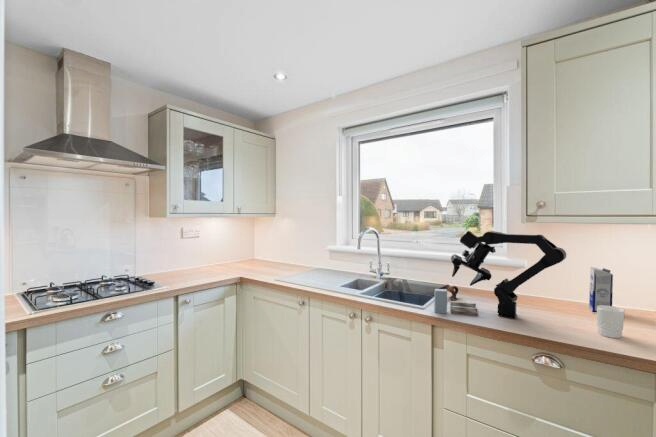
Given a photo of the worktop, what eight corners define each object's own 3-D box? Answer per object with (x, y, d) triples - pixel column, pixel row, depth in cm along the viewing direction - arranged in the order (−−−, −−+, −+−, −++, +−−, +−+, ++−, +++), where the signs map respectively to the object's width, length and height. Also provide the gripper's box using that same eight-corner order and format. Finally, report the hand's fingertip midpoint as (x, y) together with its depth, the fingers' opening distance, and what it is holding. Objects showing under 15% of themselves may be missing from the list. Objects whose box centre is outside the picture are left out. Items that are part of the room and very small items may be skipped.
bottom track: (475, 309, 151) (475, 303, 151) (477, 315, 143) (477, 308, 143) (450, 307, 155) (450, 301, 155) (450, 312, 147) (450, 306, 147)
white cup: (620, 340, 116) (621, 313, 116) (592, 333, 123) (593, 307, 122) (626, 335, 121) (627, 309, 120) (599, 329, 127) (600, 304, 127)
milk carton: (589, 308, 153) (590, 266, 153) (607, 310, 150) (608, 267, 149) (592, 312, 147) (594, 268, 146) (611, 315, 144) (613, 270, 143)
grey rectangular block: (445, 310, 150) (445, 289, 149) (446, 313, 146) (447, 291, 146) (434, 310, 151) (434, 288, 150) (435, 312, 147) (435, 290, 147)
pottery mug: (448, 303, 163) (440, 287, 166) (438, 306, 172) (430, 291, 174) (465, 294, 168) (457, 279, 170) (455, 298, 176) (447, 284, 179)
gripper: (494, 256, 157) (476, 281, 163) (458, 239, 159) (442, 264, 165) (499, 266, 147) (480, 292, 153) (461, 248, 148) (443, 275, 154)
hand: (461, 280), depth 157 cm, fingers open, 9 cm apart
